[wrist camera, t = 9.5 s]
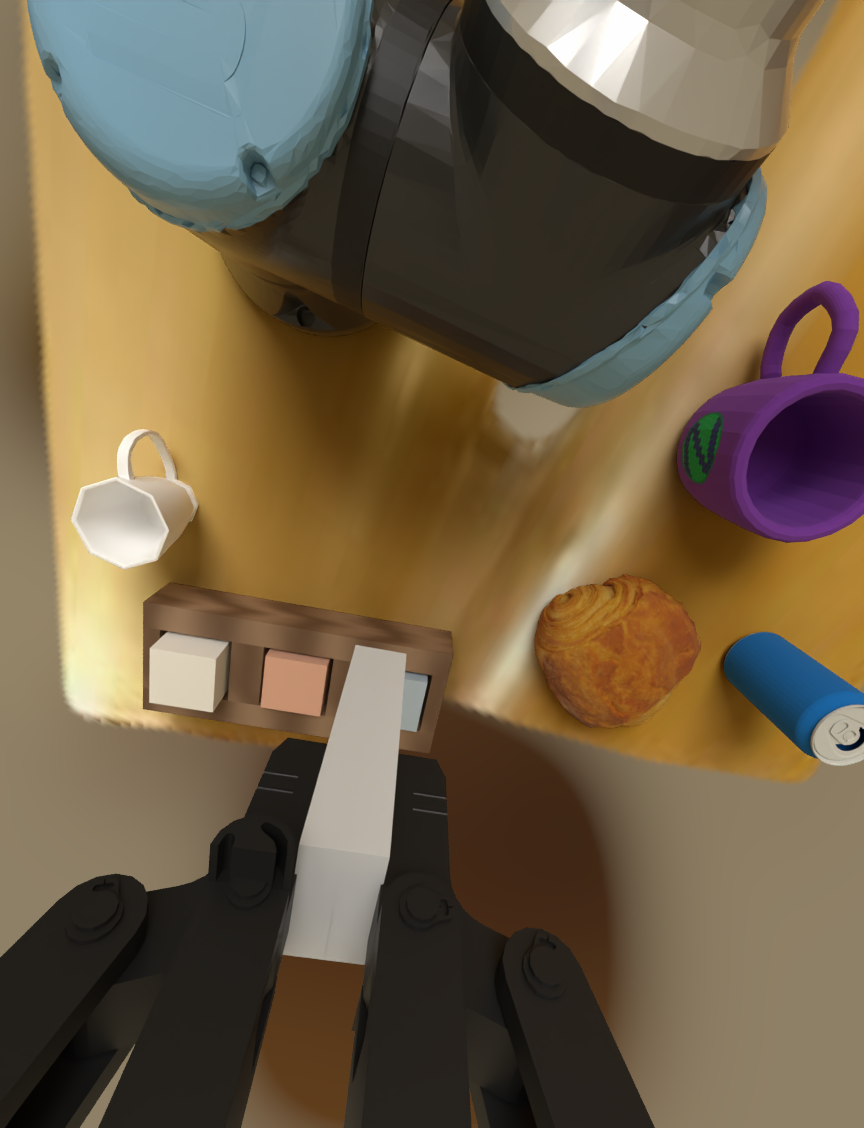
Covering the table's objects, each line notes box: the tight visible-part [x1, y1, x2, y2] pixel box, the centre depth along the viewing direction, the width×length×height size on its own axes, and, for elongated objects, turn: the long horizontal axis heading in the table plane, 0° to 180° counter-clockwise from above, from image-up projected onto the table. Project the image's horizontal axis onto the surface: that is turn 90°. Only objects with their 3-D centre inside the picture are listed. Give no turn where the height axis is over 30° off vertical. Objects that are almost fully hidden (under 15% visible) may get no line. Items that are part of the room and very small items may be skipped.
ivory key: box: [149, 631, 232, 712], centre depth 43 cm, size 5×5×4 cm
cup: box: [71, 429, 199, 570], centre depth 39 cm, size 7×10×8 cm
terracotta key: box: [261, 648, 333, 717], centre depth 46 cm, size 5×5×4 cm
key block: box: [143, 583, 453, 753], centre depth 46 cm, size 27×11×4 cm, turn 79°
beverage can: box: [724, 632, 864, 766], centre depth 43 cm, size 6×6×12 cm
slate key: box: [400, 671, 427, 732], centre depth 46 cm, size 5×5×4 cm
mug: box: [677, 281, 864, 543], centre depth 36 cm, size 17×11×10 cm, turn 175°
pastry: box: [534, 575, 701, 729], centre depth 45 cm, size 14×16×8 cm
